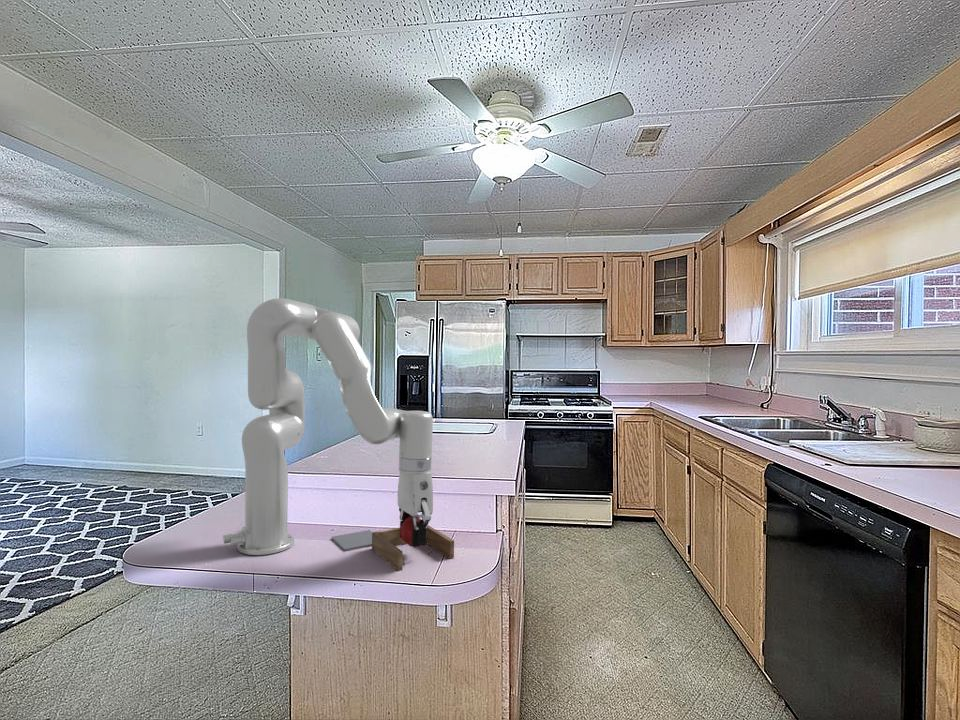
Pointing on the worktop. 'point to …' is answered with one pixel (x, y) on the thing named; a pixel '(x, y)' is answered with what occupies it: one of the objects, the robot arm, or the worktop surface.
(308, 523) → the worktop surface
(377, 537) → the tan u-shaped frame
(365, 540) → the mat
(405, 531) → the onion
